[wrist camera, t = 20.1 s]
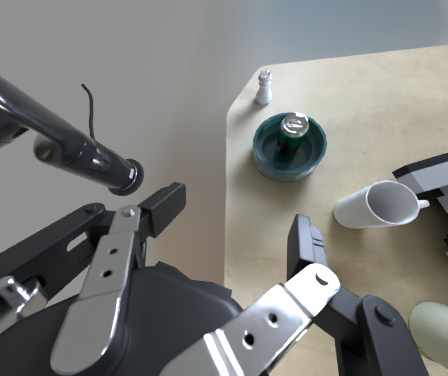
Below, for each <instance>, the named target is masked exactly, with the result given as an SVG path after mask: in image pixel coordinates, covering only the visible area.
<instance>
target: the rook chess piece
mask: <svg viewBox="0 0 448 376" xmlns="http://www.w3.org/2000/svg"><path fill="white" fill-rule="evenodd" d="M258 78H259V81H260V82H259V85H260V88H259V90H258V92H257V94H256V101H257V103H259V104H261V105H265V104H267V103H269V102H270V101H271V99H272V93H271V91H270V89H269V84H270V80H271V78H272V75H271V73H270V71H268V70H266V71H265V72H264V70H263V71H262V73H260V75H259V77H258Z"/></svg>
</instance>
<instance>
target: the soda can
mask: <svg viewBox="0 0 448 376" xmlns="http://www.w3.org/2000/svg"><path fill="white" fill-rule="evenodd" d="M308 128H309V125H308V120H307V118H306V117H305V116H304V115H303V114H300V113H292V114H289V115H287V116H286V117H285V119H283V121H282V122H281V125H280V129H279V134H278V138H277V143H276V147H275V152H274V154H275V157H276V158H277V159H278V160H279V161H281V162H290V161H292V160H293V159H294V158H295V156H296V154H297V152H298V150H299V148H300V146H301V144H302V142H303V139H304V137H305V135H306V133H307V131H308Z"/></svg>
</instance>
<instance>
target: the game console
mask: <svg viewBox="0 0 448 376" xmlns="http://www.w3.org/2000/svg"><path fill="white" fill-rule="evenodd" d="M392 173H393V175H394V176H395V178H396V179H397V181H398V182H399V183H401V184H403V185H405V186H406V187H408V188H409V189H410V190H411V191H412V192H413V193H414V194H415V195H416V197H417V199H418V200H430V199H434V198H437V199H438V201H439V202H440V203H441V205H442V206H443V208H444V209H445V210H446V212H447V213H448V153H446V154H442V155H439V156H435V157H432V158H429V159H425V160H422V161H419V162H415V163H412V164H409V165H405V166H403V167H401V168H399V169H397V170H395V171H393V172H392ZM446 236H447V237H448V235H446ZM443 240H444V242H445V243H446V245H447V246H448V238H444V239H443ZM446 255H447V256H448V252H446Z"/></svg>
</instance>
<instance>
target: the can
mask: <svg viewBox="0 0 448 376" xmlns="http://www.w3.org/2000/svg"><path fill="white" fill-rule="evenodd" d="M409 329H410V332H411V335H412V337H413V339H414V341H415V343H416V344H417V346H418V347H419V348H420V349H421V350H422V352H423V353H424V354H426V355H427V356H428V357H429V358H431V359H432V360H433V361H435V362H437V363H439V364H441V365H443V366H444V367H446V368H447V369H448V305H445V304H443V303H439V302H433V301H427V302H422V303H420V304H418V305H416V306H415V307H414V308H413V309H412V311H411V313H410V316H409Z"/></svg>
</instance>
